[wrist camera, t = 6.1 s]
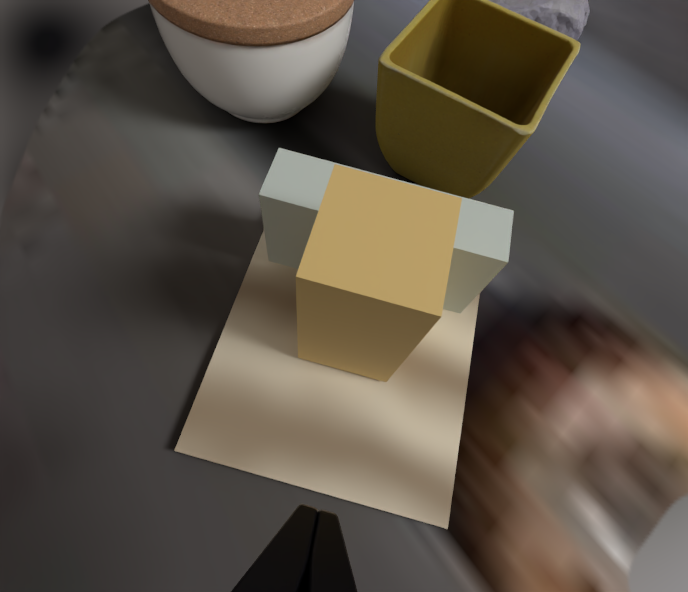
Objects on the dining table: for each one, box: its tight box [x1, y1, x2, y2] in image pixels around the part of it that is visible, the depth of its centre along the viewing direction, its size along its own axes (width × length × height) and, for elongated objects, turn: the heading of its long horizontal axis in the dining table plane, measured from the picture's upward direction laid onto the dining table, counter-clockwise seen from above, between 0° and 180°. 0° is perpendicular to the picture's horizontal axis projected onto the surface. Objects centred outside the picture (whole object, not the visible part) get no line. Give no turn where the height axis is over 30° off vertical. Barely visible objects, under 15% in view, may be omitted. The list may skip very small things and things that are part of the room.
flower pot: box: [376, 0, 580, 199], centre depth 27 cm, size 9×9×9 cm
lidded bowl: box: [148, 0, 354, 123], centre depth 27 cm, size 13×13×11 cm
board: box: [174, 230, 480, 529], centre depth 25 cm, size 17×14×1 cm
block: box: [296, 164, 462, 382], centre depth 20 cm, size 8×5×10 cm, turn 165°
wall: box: [259, 148, 514, 313], centre depth 23 cm, size 3×12×6 cm, turn 75°
